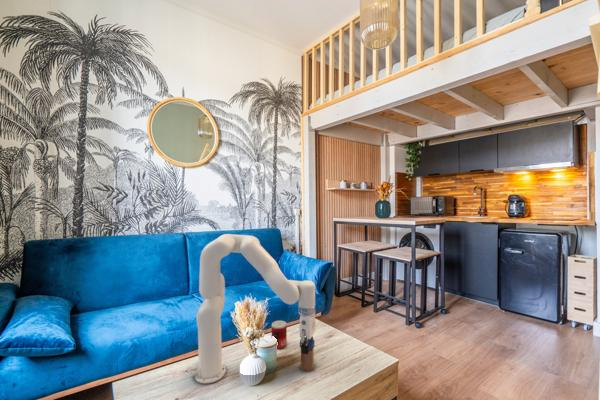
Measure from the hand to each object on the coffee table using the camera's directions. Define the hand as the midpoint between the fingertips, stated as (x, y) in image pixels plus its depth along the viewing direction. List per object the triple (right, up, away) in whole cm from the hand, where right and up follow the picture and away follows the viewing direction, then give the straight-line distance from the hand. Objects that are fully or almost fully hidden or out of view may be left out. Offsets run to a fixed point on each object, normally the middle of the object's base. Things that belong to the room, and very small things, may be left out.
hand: (307, 348), depth 124 cm
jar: (0, -8, 0) cm, 8 cm away
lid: (0, +3, 0) cm, 3 cm away
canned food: (-14, -8, +19) cm, 25 cm away
